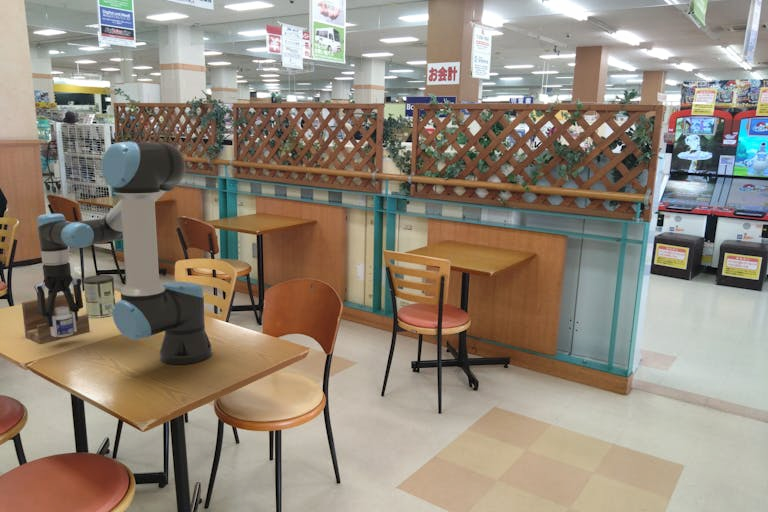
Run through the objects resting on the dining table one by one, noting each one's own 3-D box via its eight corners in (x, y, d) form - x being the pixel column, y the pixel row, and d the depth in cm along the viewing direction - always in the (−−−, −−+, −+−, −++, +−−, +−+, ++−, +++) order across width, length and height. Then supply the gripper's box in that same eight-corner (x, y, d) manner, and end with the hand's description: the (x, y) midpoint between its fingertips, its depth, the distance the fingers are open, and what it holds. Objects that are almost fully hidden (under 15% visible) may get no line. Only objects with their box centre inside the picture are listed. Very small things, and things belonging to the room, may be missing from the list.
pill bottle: (52, 334, 184) (49, 308, 182) (70, 331, 188) (67, 305, 186) (58, 338, 180) (55, 311, 179) (76, 334, 184) (73, 307, 182)
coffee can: (96, 309, 222) (93, 274, 220) (121, 310, 221) (119, 275, 219) (80, 317, 212) (76, 280, 210) (106, 318, 211) (103, 281, 209)
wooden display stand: (89, 331, 197) (86, 297, 194) (40, 343, 184) (36, 308, 182) (74, 325, 203) (71, 292, 201) (25, 337, 190) (21, 302, 188)
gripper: (79, 257, 189) (86, 324, 193) (19, 266, 175) (28, 338, 179) (91, 259, 185) (98, 328, 189) (30, 269, 170) (39, 343, 175)
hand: (64, 333), depth 184 cm, fingers closed on pill bottle, 5 cm apart
